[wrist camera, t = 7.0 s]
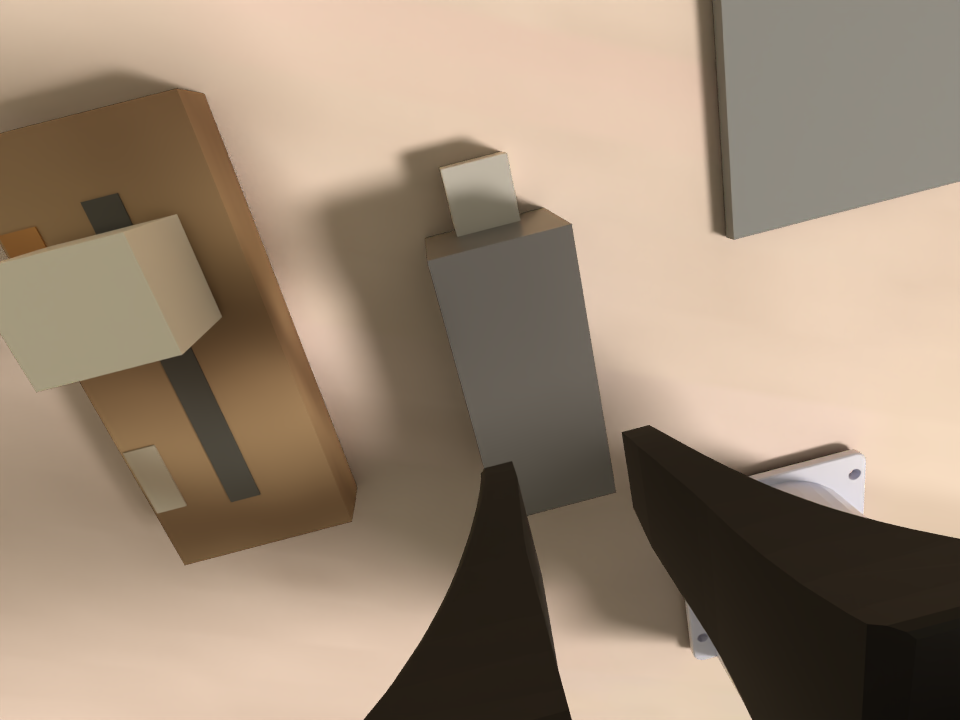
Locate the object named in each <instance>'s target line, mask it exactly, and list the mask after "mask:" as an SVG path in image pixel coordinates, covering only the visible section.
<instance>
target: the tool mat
mask: <svg viewBox="0 0 960 720" xmlns="http://www.w3.org/2000/svg"><path fill="white" fill-rule="evenodd" d="M713 17H714V34H715V51H716V69H717V86H718V103H719V120H720V137H721V154H722V171H723V188H724V206H725V223H726V237H727V238H730V239H733V240H735V239H738V238H742V237H746V236H750V235H754V234H758V233H762V232H766V231H769V230H773V229H777V228H781V227H785V226H789V225H793V224H797V223H800V222H804V221H808V220H812V219H816V218H820V217H824V216H828V215H831V214H835V213H839V212H843V211H847V210H851V209H855V208H859V207H862V206H866V205H870V204H874V203H878V202H882V201H886V200H890V199H893V198H897V197H901V196H905V195H909V194H913V193H917V192H921V191H924V190H928V189H932V188H936V187H940V186H944V185H948V184H952V183H955V182H959V181H960V0H713Z"/></svg>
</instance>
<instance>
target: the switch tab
mask: <svg viewBox="0 0 960 720" xmlns="http://www.w3.org/2000/svg"><path fill="white" fill-rule="evenodd" d="M221 318H222V315H221V313H220V311H219V309H218V306H217V304H216V302H215V300H214V297H213V295H212V293H211V290H210V288H209V286H208V284H207V281H206V279H205V277H204V275H203V272H202V270H201V268H200V265H199V263H198V261H197V259H196V256H195V254H194V252H193V249H192V247H191V245H190V243H189V240H188V238H187V236H186V234H185V231H184V229H183V227H182V224H181V222H180V220H179V218H178V215H177V214H175V215H171V216H167V217H163V218H159V219H155V220H151V221H148V222H144V223H140V224H136V225H132V226H128V227H124V228H120V229H116V230H112V231H108V232H104V233H101V234H97V235H93V236H89V237H85V238H81V239H77V240H73V241H69V242H65V243H61V244H57V245H54V246H50V247H46V248H43V249H39V250H36V251H33V252H30V253H26V254H23V255H20V256H17V257H13V258H10V259H7V260H4V261H0V334H1V336H2V337H3V339H4V341H5V342H6V344H7V345H8V347H9V349H10V350H11V352H12V354H13V355H14V357H15V358H16V360H17V362H18V363H19V365H20V367H21V368H22V370H23V372H24V373H25V375H26V376H27V378H28V380H29V381H30V383H31V385H32V386H33V388H34V389H35V391H36V392H39V391H43V390H47V389H51V388H55V387H59V386H63V385H67V384H70V383H74V382H78V381H82V380H86V379H90V378H94V377H98V376H101V375H105V374H109V373H113V372H117V371H121V370H125V369H129V368H133V367H136V366H140V365H144V364H148V363H152V362H156V361H160V360H164V359H167V358H171V357H175V356H179V355H183V354H184V353H185V352H186V351H187V350H188V349H189V348H190V347H191V346H192V345H193V344H194V343H195V342H196V341H197V340H198V339H199V338H201V337H202V336H203V335H204V334H205V333H206V332H207V331H208V330H209V329H210V328H211V327H212V326H213V325H214V324H215V323H216V322H217V321H218V320H220V319H221Z"/></svg>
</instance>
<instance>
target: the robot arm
mask: <svg viewBox="0 0 960 720" xmlns="http://www.w3.org/2000/svg"><path fill="white" fill-rule="evenodd" d="M622 437H623V443H624V450H625V456H626V463H627V469H628V476H629V482H630V489H631V495H632V502H633V508H634V510H635V512H636V514H637V516H638V519H639V521H640V523H641V525H642V527H643V529H644V531H645V534H646V536H647V538H648V540H649V542H650V544H651V546H652V548H653V549H654V551H655V553H656V554H657V556H658V557H659V559H660V561H661V562H662V564H663V565H664V567H665V569H666V570H667V572H668V573H669V575H670V577H671V578H672V580H673V581H674V583H675V584H676V586H677V588H678V589H679V591H680V592H681V594H682V595H683V597H684V598H685V605H686V614H687V622H688V631H689V639H690V647H691V651H692V653H693V655H694V657H695V658H697V659H700V660H704V659H708V658H712V657H716V656H717V657H718V659H719V660H720V662H721V664H722V666H723V667H724V669H725V671H726V673H727V674H728V676H729V678H730V679H731V681H732V683H733V685H734V686H735V688H736V690H737V692H738V693H739V695H740V697H741V699H742V700H743V702H744V704H745V706H746V708H747V710H748V712H749V714H750V716H751V718H752V720H960V539H958V538H953V537H948V536H943V535H938V534H933V533H928V532H923V531H918V530H914V529H909V528H905V527H900V526H896V525H892V524H888V523H883V522H879V521H876V520H872V519H869V518H866V517H865V516H864V515H863V514H864V493H865V472H866V458H865V456H864V455H863V454H862V453H860V452H859V451H857V450H854V449H853V450H847V451H843V452H839V453H835V454H831V455H828V456H824V457H820V458H816V459H812V460H809V461H805V462H801V463H797V464H793V465H790V466H786V467H782V468H778V469H774V470H770V471H767V472H763V473H759V474H755V475H751V476H746V475H744V474H742V473H739V472H737V471H735V470H733V469H731V468H729V467H727V466H725V465H723V464H721V463H719V462H717V461H715V460H713V459H711V458H709V457H707V456H705V455H703V454H701V453H699V452H697V451H695V450H694V449H692V448H690V447H688V446H686V445H684V444H683V443H681V442H679V441H677V440H675V439H674V438H672V437H670V436H668V435H666V434H665V433H663V432H661V431H659V430H657V429H655V428H654V427H652V426H650V425H648V426H644V427H640V428H636V429H633V430H629V431H625V432H622ZM852 470H853V471H852ZM851 471H852V472H851ZM850 472H851V473H850ZM364 720H572V719H571V715H570V712H569V708H568V704H567V700H566V697H565V693H564V689H563V686H562V682H561V678H560V675H559V671H558V666H557V660H556V654H555V649H554V643H553V637H552V631H551V625H550V620H549V614H548V608H547V602H546V597H545V591H544V585H543V579H542V574H541V570H540V566H539V562H538V558H537V554H536V550H535V546H534V542H533V538H532V534H531V530H530V526H529V522H528V518H527V514H526V510H525V506H524V502H523V498H522V494H521V490H520V486H519V482H518V478H517V475H516V471H515V468H514V465H513V462H512V461H510V462H506V463H502V464H498V465H495V466H491V467H487V468H485V469H484V470H483V472H482V473H481V486H480V493H479V498H478V503H477V508H476V512H475V516H474V520H473V523H472V527H471V531H470V534H469V537H468V540H467V543H466V546H465V549H464V552H463V555H462V557H461V560H460V563H459V566H458V568H457V571H456V573H455V576H454V578H453V580H452V583H451V585H450V587H449V589H448V591H447V593H446V596H445V598H444V600H443V602H442V604H441V606H440V608H439V609H438V611H437V613H436V615H435V617H434V619H433V621H432V622H431V624H430V626H429V628H428V630H427V631H426V633H425V635H424V637H423V638H422V640H421V641H420V643H419V645H418V646H417V648H416V649H415V651H414V652H413V654H412V655H411V657H410V658H409V660H408V661H407V663H406V664H405V666H404V667H403V669H402V670H401V672H400V673H399V675H398V676H397V678H396V679H395V681H394V682H393V683H392V685H391V686H390V687H389V689H388V690H387V692H386V693H385V694H384V695H383V697H382V698H381V699H380V700H379V702H378V703H377V704H376V705H375V706H374V708H373V709H372V710H371V711H370V713H369V714H368V715H367V716H366V717H365V719H364Z"/></svg>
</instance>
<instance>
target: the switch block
mask: <svg viewBox="0 0 960 720" xmlns="http://www.w3.org/2000/svg"><path fill="white" fill-rule="evenodd" d="M175 214H177V215H178V218H179V220H180V222H181V224H182V227H183V229H184V231H185V234H186V236H187V238H188V240H189V243H190V245H191V247H192V249H193V252H194V254H195V256H196V259H197V261H198V263H199V265H200V268H201V270H202V272H203V275H204V277H205V279H206V281H207V284H208V286H209V288H210V290H211V293H212V295H213V297H214V300H215V302H216V304H217V306H218V309H219V311H220V313H221V315H222V318H221V319H220V320H218V321H217V322H216V323H215V324H214V325H213V326H212V327H211V328H210V329H209V330H208V331H207V332H206V333H205V334H204V335H203V336H202V337H201V338H199V339H198V340H197V341H196V342H195V343H194V344H193V345H192V346H191V347H190V348H189V349H188V350H187V351H186V352H185V353H184V354H183V355H179V356H175V357H171V358H167V359H164V360H160V361H156V362H152V363H148V364H144V365H140V366H136V367H133V368H129V369H125V370H121V371H117V372H113V373H109V374H105V375H101V376H98V377H94V378H90V379H86V380H82V381H79V382H80V384H81V385H82V387H83V389H84V391H85V392H86V394H87V396H88V398H89V399H90V401H91V403H92V405H93V406H94V408H95V410H96V411H97V413H98V415H99V417H100V418H101V420H102V422H103V424H104V425H105V427H106V429H107V431H108V432H109V434H110V436H111V438H112V439H113V441H114V443H115V445H116V446H117V448H118V450H119V451H120V453H121V455H122V457H123V458H124V460H125V462H126V464H127V465H128V467H129V469H130V471H131V472H132V474H133V476H134V478H135V479H136V481H137V483H138V485H139V486H140V488H141V490H142V492H143V493H144V495H145V497H146V498H147V500H148V502H149V504H150V505H151V507H152V509H153V511H154V512H155V514H156V516H157V518H158V519H159V521H160V523H161V525H162V526H163V528H164V530H165V532H166V533H167V535H168V537H169V538H170V540H171V542H172V544H173V545H174V547H175V549H176V551H177V552H178V554H179V556H180V558H181V559H182V561H183V563H184V565H188V564H191V563H195V562H199V561H203V560H207V559H210V558H214V557H218V556H222V555H226V554H230V553H233V552H237V551H241V550H245V549H249V548H253V547H256V546H260V545H264V544H268V543H272V542H276V541H279V540H283V539H287V538H291V537H295V536H298V535H302V534H306V533H310V532H314V531H318V530H321V529H325V528H329V527H333V526H337V525H341V524H344V523H348V522H352V518H353V512H354V506H355V500H356V493H357V486H356V483H355V481H354V478H353V476H352V473H351V470H350V468H349V465H348V463H347V460H346V458H345V455H344V452H343V450H342V447H341V445H340V442H339V440H338V437H337V434H336V432H335V429H334V427H333V424H332V421H331V419H330V416H329V414H328V411H327V409H326V406H325V403H324V401H323V398H322V396H321V393H320V391H319V388H318V385H317V383H316V380H315V378H314V375H313V373H312V370H311V367H310V365H309V362H308V360H307V357H306V355H305V352H304V349H303V347H302V344H301V342H300V339H299V336H298V334H297V331H296V329H295V326H294V324H293V321H292V318H291V316H290V313H289V311H288V308H287V306H286V303H285V300H284V298H283V295H282V293H281V290H280V288H279V285H278V282H277V280H276V277H275V275H274V272H273V270H272V267H271V264H270V262H269V259H268V257H267V254H266V251H265V249H264V246H263V244H262V241H261V239H260V236H259V233H258V231H257V228H256V226H255V223H254V221H253V218H252V215H251V213H250V210H249V208H248V205H247V203H246V200H245V197H244V195H243V192H242V190H241V187H240V185H239V182H238V179H237V177H236V174H235V172H234V169H233V166H232V164H231V161H230V159H229V156H228V154H227V151H226V148H225V146H224V143H223V141H222V138H221V136H220V133H219V130H218V128H217V125H216V123H215V120H214V118H213V115H212V112H211V110H210V107H209V105H208V102H207V100H206V97H205V94H203V93H198V92H193V91H187V90H182V89H173V90H169V91H165V92H161V93H157V94H153V95H149V96H145V97H141V98H137V99H133V100H129V101H125V102H121V103H117V104H113V105H109V106H105V107H101V108H97V109H94V110H90V111H86V112H82V113H78V114H74V115H70V116H66V117H62V118H58V119H54V120H50V121H46V122H42V123H38V124H34V125H30V126H26V127H22V128H18V129H14V130H10V131H7V132H3V133H0V244H1V246H2V248H3V250H4V251H5V253H6V255H7V257H8V258H9V259H10V258H13V257H17V256H20V255H23V254H26V253H30V252H33V251H36V250H39V249H43V248H46V247H50V246H54V245H57V244H61V243H65V242H69V241H73V240H77V239H81V238H85V237H89V236H93V235H97V234H101V233H104V232H108V231H112V230H116V229H120V228H124V227H128V226H132V225H136V224H140V223H144V222H148V221H151V220H155V219H159V218H163V217H167V216H171V215H175Z"/></svg>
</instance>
